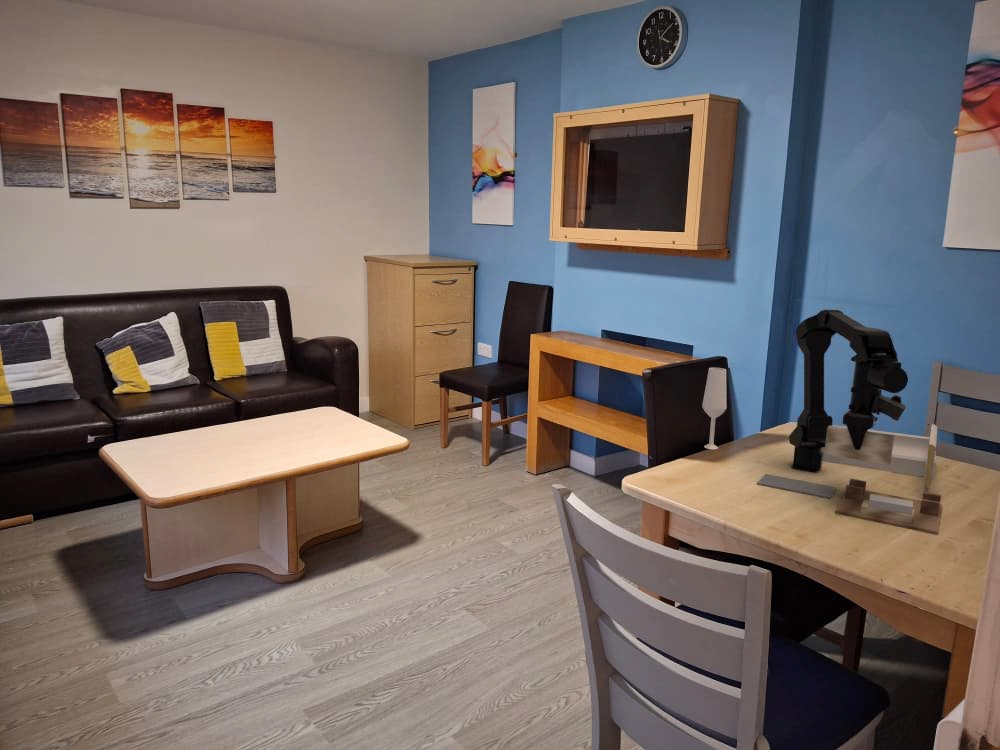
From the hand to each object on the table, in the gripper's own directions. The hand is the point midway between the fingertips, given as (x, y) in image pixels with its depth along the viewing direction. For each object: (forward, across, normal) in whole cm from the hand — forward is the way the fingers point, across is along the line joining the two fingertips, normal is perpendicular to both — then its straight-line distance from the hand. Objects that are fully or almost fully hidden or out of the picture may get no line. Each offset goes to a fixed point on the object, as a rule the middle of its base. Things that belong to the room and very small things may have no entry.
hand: (858, 448), depth 171 cm
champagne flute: (+13, +19, +40) cm, 46 cm away
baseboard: (+12, +25, -14) cm, 31 cm away
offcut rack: (+12, 0, -8) cm, 15 cm away
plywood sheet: (+2, 0, 0) cm, 2 cm away
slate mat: (+12, 0, +13) cm, 18 cm away
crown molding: (+13, +30, 0) cm, 32 cm away
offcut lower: (+12, -10, -8) cm, 18 cm away
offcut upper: (+10, -10, -9) cm, 17 cm away
